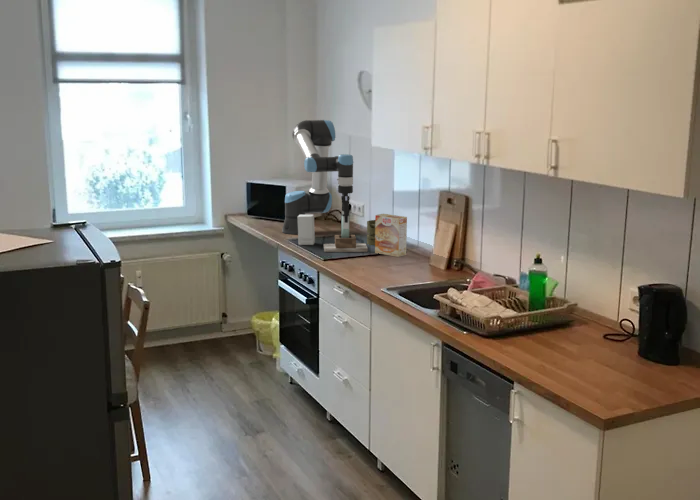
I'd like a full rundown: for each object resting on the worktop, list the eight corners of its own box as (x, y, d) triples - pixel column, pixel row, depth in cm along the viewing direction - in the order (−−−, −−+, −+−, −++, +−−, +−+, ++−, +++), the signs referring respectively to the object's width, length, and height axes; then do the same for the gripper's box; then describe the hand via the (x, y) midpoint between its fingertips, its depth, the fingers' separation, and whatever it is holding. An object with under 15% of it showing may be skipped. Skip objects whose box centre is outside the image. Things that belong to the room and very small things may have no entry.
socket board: (323, 246, 399) (323, 234, 398) (365, 246, 400) (365, 233, 399) (324, 252, 385) (324, 239, 384) (367, 251, 387) (367, 239, 385)
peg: (341, 245, 394) (341, 215, 391) (348, 245, 395) (349, 214, 391) (341, 246, 390) (341, 216, 387) (349, 246, 391) (349, 216, 387)
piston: (382, 224, 397) (363, 222, 402) (382, 246, 399) (363, 244, 404) (391, 221, 406) (372, 219, 412) (391, 243, 409) (372, 241, 414)
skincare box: (315, 242, 408) (314, 214, 405) (313, 245, 402) (313, 216, 398) (299, 242, 409) (299, 214, 406) (297, 245, 402) (297, 216, 399)
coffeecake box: (374, 253, 384) (374, 214, 380) (382, 250, 389) (383, 213, 385) (398, 257, 374) (399, 218, 370) (406, 254, 380) (407, 216, 376)
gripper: (336, 181, 398) (336, 221, 402) (339, 188, 374) (339, 230, 378) (351, 181, 398) (350, 221, 403) (354, 188, 374) (354, 230, 379)
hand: (345, 226), depth 391 cm, fingers open, 13 cm apart
